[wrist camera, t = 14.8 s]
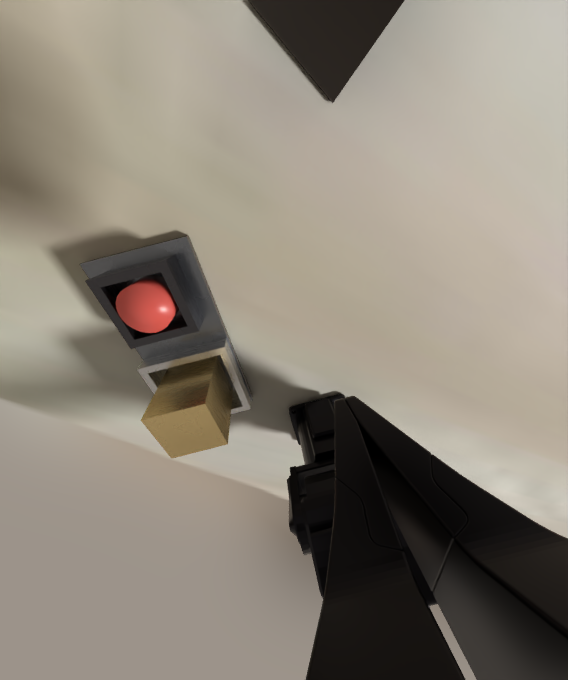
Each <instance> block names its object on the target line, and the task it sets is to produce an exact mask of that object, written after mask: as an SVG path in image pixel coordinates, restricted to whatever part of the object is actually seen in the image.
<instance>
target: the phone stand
mask: <svg viewBox="0 0 568 680" xmlns="http://www.w3.org/2000/svg"><path fill="white" fill-rule="evenodd" d="M249 2H250V3H251V4H252V5H253V6H254V8H255V9H256V10H257V11H258V13H259V14H260V15H261V16H262V17H263V19H264V20H265V21H266V22H267V23H268V25H269V26H270V27H271V28H272V30H273V31H274V32H275V33H276V34H277V36H278V37H279V38H280V39H281V41H282V42H283V43H284V44H285V45H286V47H287V48H288V49H289V50H290V51H291V53H292V54H293V55H294V56H295V58H296V59H297V60H298V61H299V62H300V64H301V65H302V66H303V67H304V69H305V70H306V71H307V72H308V73H309V75H310V76H311V77H312V78H313V79H314V81H315V82H316V83H317V84H318V86H319V87H320V88H321V89H322V90H323V92H324V93H325V94H326V95H327V96H328V98H329V99H330V100H331V101H332V103H333V102H334V100H335V99H336V98H337V96H338V95H339V93H340V92H341V90H342V89H343V88H344V86H345V85H346V83H347V82H348V80H349V79H350V78H351V76H352V75H353V73H354V72H355V70H356V69H357V68H358V66H359V65H360V63H361V62H362V60H363V59H364V57H365V56H366V55H367V53H368V52H369V50H370V49H371V47H372V46H373V45H374V43H375V42H376V40H377V39H378V37H379V36H380V35H381V33H382V32H383V30H384V29H385V27H386V26H387V25H388V23H389V22H390V20H391V19H392V17H393V16H394V14H395V13H396V12H397V10H398V9H399V7H400V6H401V4H402V3H403V2H404V0H249Z"/></svg>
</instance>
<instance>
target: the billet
mask: <svg viewBox="0 0 568 680" xmlns="http://www.w3.org/2000/svg"><path fill="white" fill-rule="evenodd" d="M232 396H233V390H232V388H231V386H230V384H229V382H228V379H227V377H226V375H225V373H224V371H223V368H222V366H221V364H220V362H219V360H218V357H217V356H213V357H210V358H206V359H202V360H198V361H194V362H190V363H186V364H182V365H178V366H174V367H171V368H168V369H167V371H166V373H165V375H164V377H163V379H162V381H161V383H160V384H159V386H158V388H157V390H156V392H155V394H154V396H153V398H152V400H151V402H150V404H149V406H148V408H147V409H146V411H145V413H144V415H143V417H142V419H141V421H142V422H143V424H144V425H145V426H146V427H147V429H148V430H149V431H150V432H151V434H152V435H153V436H154V437H155V439H156V440H157V441H158V442H159V443H160V445H161V446H162V447H163V448H164V450H165V451H166V452H167V453H168V455H169V456H170V457H171V458H176V457H179V456H183V455H187V454H191V453H195V452H199V451H203V450H207V449H211V448H215V447H218V446H222V445H226V444H228V436H229V426H230V416H231V406H232Z"/></svg>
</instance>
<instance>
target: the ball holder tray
mask: <svg viewBox="0 0 568 680" xmlns="http://www.w3.org/2000/svg"><path fill="white" fill-rule="evenodd" d="M80 265H81V267H82V268H83V270H84V271H85V273H86V274H87V276H88V277H89V279H88V280H86V283H87V284H88V286H89V287H90V289H91V290H92V292H93V293H94V295H95V296H96V298H97V299H98V301H99V302H100V304H101V305H102V307H103V308H104V310H105V311H106V312H107V314H108V315H109V317H110V318H111V320H112V321H113V323H114V324H115V326H116V327H117V329H118V330H119V332H120V333H121V335H122V336H123V338H124V339H125V341H126V342H127V344H128V345H129V347H130V348H131V349H132V348H136V350H137V351H138V353H139V354H140V356H141V357H142V359H143V361H142V363H141V364H140V366H139V367H138V368H137V371H138V372H139V374H140V375H141V377H142V378H143V379H144V381H145V382H146V384H147V385H148V387H149V388H150V389H151V391H152V392H153V394H155V392H156V390H157V388H158V386H159V384H160V383H161V381H162V379H163V377H164V375H165V373H166V371H167V369H168V368H171V367H174V366H178V365H182V364H186V363H190V362H194V361H198V360H202V359H206V358H210V357H213V356H217V357H218V360H219V362H220V364H221V366H222V368H223V371H224V373H225V375H226V377H227V379H228V382H229V384H230V386H231V388H232V390H233V396H232V406H231V414H234V413H238V412H242V411H246V410H250V409H251V400H253V396H252V393H251V391H250V388H249V386H248V383H247V381H246V378H245V376H244V373H243V371H242V368H241V366H240V363H239V361H238V358H237V356H236V353H235V351H234V348H233V346H232V343H231V341H230V338H229V336H228V333H227V331H226V328H225V326H224V323H223V321H222V318H221V316H220V313H219V311H218V308H217V306H216V303H215V301H214V298H213V296H212V293H211V291H210V288H209V286H208V283H207V281H206V278H205V276H204V273H203V271H202V268H201V266H200V263H199V261H198V258H197V256H196V253H195V251H194V248H193V246H192V243H191V241H190V238H189V236H185V237H181V238H177V239H173V240H169V241H165V242H162V243H158V244H154V245H150V246H146V247H142V248H138V249H134V250H131V251H127V252H123V253H119V254H115V255H111V256H107V257H103V258H100V259H96V260H92V261H88V262H84V263H81V264H80ZM148 275H157V276H161V277H164V279H165V281H166V283H167V285H168V287H169V289H170V291H171V293H172V295H173V297H174V300H175V302H176V304H177V306H178V308H179V311H178V312H177V313H176V315H175V316H174V318H173V319H172V321H171V322H170V323H169V325H168V326H167V327H166V328H165V329H163V330H161V331H159V332H155V333H145V332H140V331H137V330H135V329H133V328H131V327H130V326H128V325H127V324H126V323H125V322H124V321H123V320H122V319H121V318H120V316H119V314H118V312H117V309H116V299H117V296H118V294H119V293H120V292H121V291H122V290H123V289H125V288H126V287H128V286H129V285H131V284H132V283H134V282H136V281H137V280H139V279H140V278H142V277H144V276H148Z"/></svg>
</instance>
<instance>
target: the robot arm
mask: <svg viewBox="0 0 568 680" xmlns="http://www.w3.org/2000/svg"><path fill="white" fill-rule="evenodd" d="M341 398H342V399H341ZM289 414H290V417H291V421H292V424H293V427H294V431H295V434H296V437H297V441H298V444H299V445H301V448H302V453H303V457H304V462H305V465H302V466H298V467H296V466H294V467H290V474H291V476H289V478H288V479H287V484H288V492H289V527H290V531H291V532H292V533H293V534H294V535H296V536H297V539H298V542H299V543H300V545H301V548H302V551H303V554H304V555H307V554H311V553H312V558H313V562H314V566H315V571H316V575H317V580H318V585H319V590H320V593H321V596H322V597H323V604H322V609H321V613H320V618H319V622H318V627H317V631H316V635H315V640H314V644H313V649H312V653H311V658H310V662H309V667H308V672H307V676H306V680H465V678H464V676H463V674H462V672H461V670H460V668H459V666H458V664H457V662H456V660H455V658H454V656H453V654H452V652H451V650H450V648H449V646H448V644H447V642H446V640H445V638H444V636H443V634H442V632H441V630H440V628H439V626H438V624H437V622H436V620H435V618H434V616H433V614H432V612H431V610H430V606H431V605H435V604H438V605H439V607H440V609H441V611H442V613H443V615H444V616H445V618H446V620H447V622H448V624H449V626H450V628H451V630H452V632H453V634H454V636H455V638H456V640H457V642H458V644H459V646H460V648H461V650H462V652H463V654H464V656H465V657H466V659H467V661H468V663H469V665H470V667H471V669H472V671H473V673H474V675H475V677H476V679H477V680H568V538H565V537H563V536H561V535H559V534H557V533H555V532H553V531H551V530H549V529H547V528H545V527H543V526H541V525H539V524H538V523H536V522H534V521H533V520H531V519H529V518H528V517H526V516H525V515H523V514H522V513H520V512H518V511H517V510H515V509H514V508H512V507H510V506H509V505H507V504H506V503H504V502H503V501H501V500H499V499H498V498H496V497H495V496H493V495H491V494H490V493H488V492H487V491H485V490H483V489H482V488H480V487H479V486H477V485H476V484H474V483H473V482H471V481H470V480H468V479H467V478H465V477H463V476H462V475H460V474H459V473H458V472H456V471H455V470H453V469H452V468H451V467H449V466H448V465H446V464H445V463H444V462H442V461H441V460H440V459H438V458H437V457H436V456H434V455H431V453H430V452H429V451H427V450H426V449H425V448H423V447H422V446H421V445H419V444H418V443H417V442H415V441H414V440H413V439H411V438H410V437H409V436H407V435H406V434H405V433H403V432H402V431H401V430H399V429H398V428H397V427H395V426H394V425H393V424H391V423H390V422H389V421H387V420H386V419H385V418H383V417H382V416H381V415H379V414H378V413H377V412H375V411H374V410H373V409H371V408H370V407H369V406H367V405H366V404H365V403H363V402H362V401H361V400H359V399H358V398H356V397H355V396H350V397H346V398H345V396H344V395H343V394H339V395H335V396H331V397H327V398H324V399H320V400H316V401H312V402H308V403H304V404H300V405H296V406H292V407H290V408H289Z"/></svg>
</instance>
